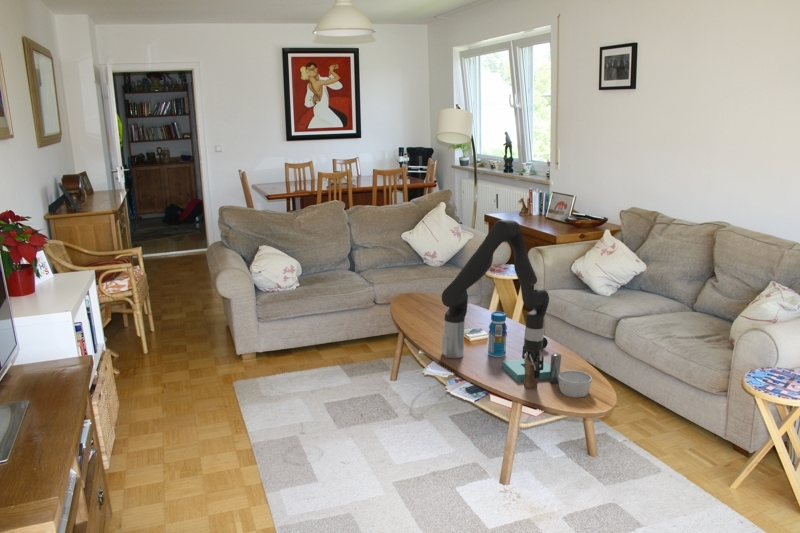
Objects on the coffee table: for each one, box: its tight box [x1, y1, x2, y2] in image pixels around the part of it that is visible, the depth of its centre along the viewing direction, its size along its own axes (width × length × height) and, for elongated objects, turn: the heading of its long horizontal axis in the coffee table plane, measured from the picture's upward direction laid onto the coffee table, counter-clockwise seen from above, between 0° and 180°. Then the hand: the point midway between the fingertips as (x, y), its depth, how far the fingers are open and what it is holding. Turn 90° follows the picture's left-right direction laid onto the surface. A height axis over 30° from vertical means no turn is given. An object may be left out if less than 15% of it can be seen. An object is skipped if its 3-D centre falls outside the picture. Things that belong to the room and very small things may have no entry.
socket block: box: [501, 358, 551, 382], centre depth 291 cm, size 18×16×3 cm
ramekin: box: [558, 369, 593, 398], centre depth 272 cm, size 13×13×7 cm
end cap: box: [541, 336, 549, 351], centre depth 320 cm, size 10×7×7 cm
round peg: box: [549, 353, 562, 385], centre depth 280 cm, size 4×4×12 cm
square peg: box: [523, 358, 539, 390], centre depth 275 cm, size 4×4×12 cm
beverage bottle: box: [487, 311, 508, 358], centre depth 309 cm, size 8×8×20 cm
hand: (531, 374), depth 276 cm, fingers open, 8 cm apart
